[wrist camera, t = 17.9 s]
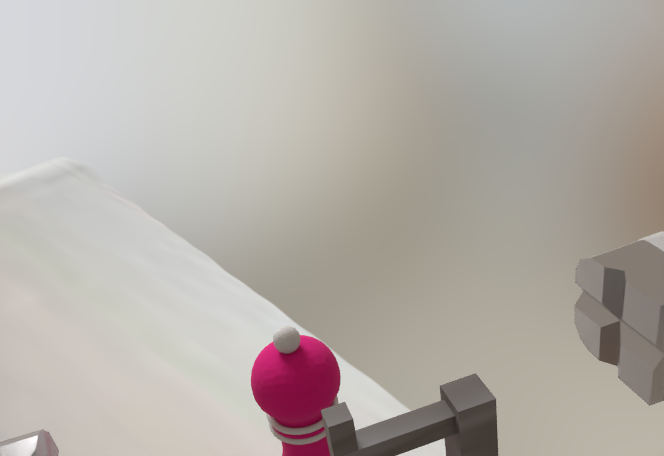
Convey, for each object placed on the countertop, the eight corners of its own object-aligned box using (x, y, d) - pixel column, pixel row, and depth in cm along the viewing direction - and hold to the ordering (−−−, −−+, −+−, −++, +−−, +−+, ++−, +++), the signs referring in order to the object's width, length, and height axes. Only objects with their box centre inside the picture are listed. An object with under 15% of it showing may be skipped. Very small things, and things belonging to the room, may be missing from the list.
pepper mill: (392, 550, 48) (357, 341, 39) (302, 590, 46) (242, 382, 37) (355, 479, 54) (318, 284, 45) (275, 513, 52) (219, 317, 43)
